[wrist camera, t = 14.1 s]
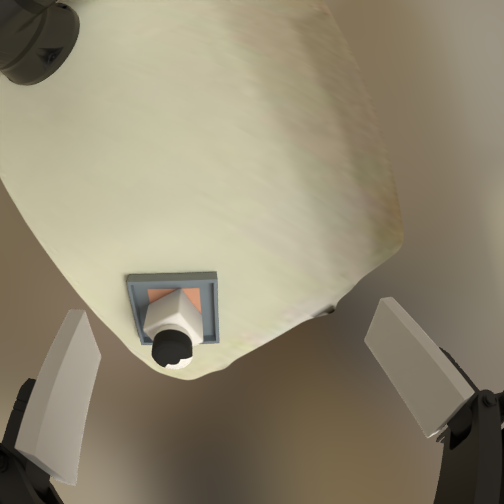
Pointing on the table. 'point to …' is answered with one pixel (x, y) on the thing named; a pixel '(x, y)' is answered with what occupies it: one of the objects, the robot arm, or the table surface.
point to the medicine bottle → (173, 329)
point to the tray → (159, 285)
